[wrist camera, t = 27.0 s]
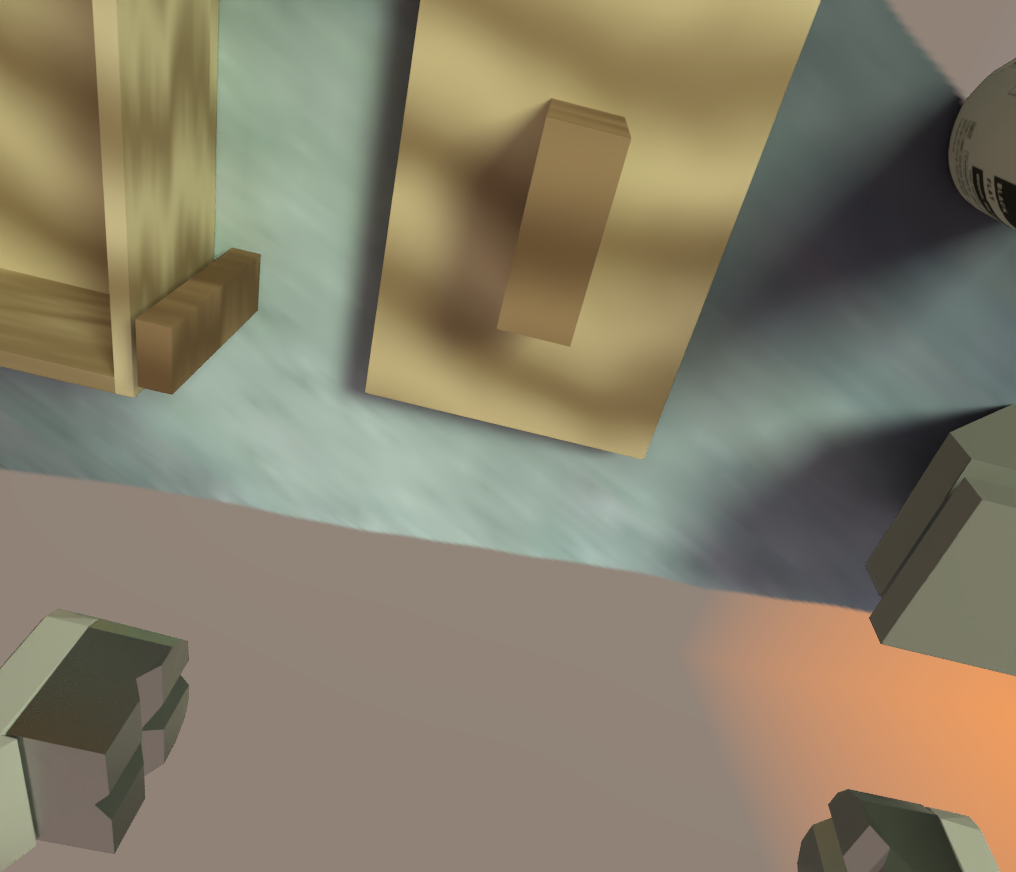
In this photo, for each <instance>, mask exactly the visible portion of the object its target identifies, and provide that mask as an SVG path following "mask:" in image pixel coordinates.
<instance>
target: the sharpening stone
mask: <svg viewBox="0 0 1016 872" xmlns="http://www.w3.org/2000/svg"><path fill="white" fill-rule="evenodd" d="M865 566H866V568H867V571H868V573H869V575H870V577H871V579H872V581H873V583H874V585H875V587H876V589H877V591H878V593H879V595H880V596H882V597H883V598H882V600H881V601H880V603H879V604H878V605H877V607H876V608H875V610H874V611H873V613H872V614H871V616H870V617H869V619H870V621H871V623H872V625H873V628H874V630H875V632H876V634H877V637H878V639H879V641H880V643H881V644H883V645H888V646H892V647H896V648H900V649H905V650H909V651H913V652H917V653H921V654H925V655H930V656H934V657H938V658H942V659H946V660H951V661H955V662H959V663H963V664H968V665H972V666H976V667H980V668H984V669H988V670H992V671H997V672H1001V673H1005V674H1009V675H1013V676H1016V405H1010V406H1008V407H1005V408H1003V409H1001V410H999V411H996V412H994V413H992V414H990V415H987V416H985V417H983V418H981V419H979V420H976V421H974V422H972V423H970V424H967V425H965V426H963V427H961V428H958V429H956V430H954V431H952V432H950V433H949V434H948V436H947V438H946V439H945V441H944V442H943V444H942V445H941V447H940V449H939V450H938V452H937V453H936V455H935V456H934V458H933V460H932V461H931V463H930V464H929V466H928V467H927V469H926V471H925V472H924V474H923V475H922V477H921V478H920V480H919V481H918V483H917V485H916V486H915V488H914V489H913V491H912V492H911V494H910V496H909V497H908V499H907V500H906V502H905V503H904V505H903V507H902V508H901V510H900V511H899V513H898V514H897V516H896V518H895V519H894V521H893V522H892V524H891V525H890V527H889V529H888V530H887V532H886V533H885V535H884V536H883V538H882V540H881V541H880V543H879V544H878V546H877V547H876V549H875V550H874V552H873V554H872V555H871V557H870V558H869V560H868V561H867V563H866V565H865Z"/></svg>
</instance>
